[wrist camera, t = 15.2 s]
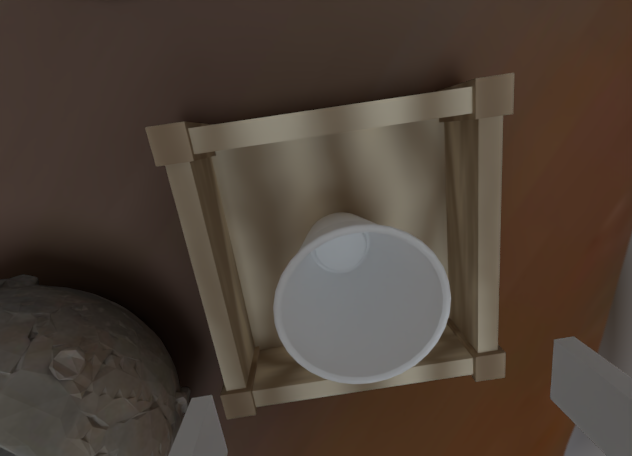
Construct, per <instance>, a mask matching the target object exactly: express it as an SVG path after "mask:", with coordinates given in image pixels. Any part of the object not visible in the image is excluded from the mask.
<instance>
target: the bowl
mask: <svg viewBox="0 0 632 456" xmlns="http://www.w3.org/2000/svg"><path fill="white" fill-rule="evenodd" d="M190 392H191V391H190V389H189V388H188V387H181V386H180V383H179V379H178V374H177V370H176V367H175V365H174V363H173V361H172V358H171V356H170V354H169V352H168V351H167V349H166V348H165V346H164V344H163V343H162V341H161V339H160V338H159V337H158V336H157V335H156V334H155V332H154V331H153V330H151V329H150V328H149V327H148V326H147V325H146V324H145V323H144V322H143V321H141V320H140V319H139V318H138V317H137V316H135V315H134V314H133V313H131V312H130V311H129V310H128V309H126V308H124V307H122V306H120V305H119V304H117V303H115V302H112V301H110V300H108V299H105V298H103V297H101V296H98V295H96V294H93V293H89V292H85V291H81V290H77V289H72V288H67V287H56V286H44V285H39V281H38V278H37V277H34V276H30V275H24V274H23V275H19V276H16V277H13V278H9V279H0V456H168V455H169V453H170V450H171V448H172V445H173V443H174V440H175V438H176V435H177V433H178V431H179V428H180V426H181V423H182V416H183V413H186V411H187V408H188V400H189V396H190Z"/></svg>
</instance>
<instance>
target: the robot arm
mask: <svg viewBox="0 0 632 456" xmlns="http://www.w3.org/2000/svg"><path fill="white" fill-rule="evenodd" d="M550 399H551V400H552V401H553V402H554V403H555V404H556V405H557V406H558V407H559V408H560V409H561V410H562V411H563V412H564V413H565V414H566V415H567V416H568V417H569V418H570V419H571V420H572V421H573V422H574V423H575V424H576V425H577V426H578V427H579V428H580V429H581V430H582V431H583V432H584V433H585V434H586V435H587V436H588V437H589V438H590V439H591V441H592V442H593V443H594V444H596V446H597V447H598V448H600V450H601V451H602V452H603V453H604V454H605V455H606V456H632V378H631V377H630V376H628V375H627V374H626V373H624V372H623V371H621V370H620V369H619V368H617V367H616V366H614V365H613V364H611V363H610V362H609V361H607V360H606V359H605V358H603V357H602V356H600V355H599V354H597V353H596V352H595V351H593V350H592V349H590V348H589V347H588V346H586V345H585V344H583V343H582V342H581V341H579V340H578V339H576V338H575V337H568V338H562V339H556V340H554V349H553V364H552V379H551V393H550ZM227 453H228V450H227V446H226V443H225V439H224V436H223V432H222V429H221V425H220V421H219V418H218V414H217V411H216V407H215V404H214V400H213V396H212V395H208V396H202V397H196V398H192V399H191V401H190V404H189V406H188V408H187V411H186V413H185V416H184V418H183V421H182V423H181V426H180V428H179V431H178V433H177V435H176V438H175V440H174V443H173V445H172V448H171V450H170V453H169V455H168V456H227Z"/></svg>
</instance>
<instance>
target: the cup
mask: <svg viewBox="0 0 632 456" xmlns="http://www.w3.org/2000/svg"><path fill="white" fill-rule="evenodd" d="M450 305H451V292H450V285H449V280H448V277H447V275H446V272H445V269H444V267H443V265H442V264H441V262H440V261H439V259H438V258H437V256H436V255H435V253H434V252H433V251H432V250H431V249H430V248H429V247H428V246H427V245H426V244H425V243H423V242H422V241H421V240H419V239H418V238H416V237H414V236H413V235H411V234H409V233H408V232H405V231H402V230H400V229H397V228H394V227H391V226H385V225H378V224H376V223H373V222H371V221H369V220H366V219H364V218H362V217H359V216H357V215H354V214H351V213H345V212H339V213H333V214H329V215H327V216H325V217H323V218H321V219H320V220H318V221H317V222H316V223H315V224H314V225H313V226H312V228H311V229H310V231H309V232H308V234H307V236H306V238H305V240H304V242H303V244H302V246H301V248H300V249H299V251H298V253H297V254H296V255H295V256H294V257H293V258H292V259H291V260H290V262H289V263H288V265H287V267H286V268H285V270H284V271H283V273H282V274H281V277H280V279H279V282H278V285H277V288H276V290H275V296H274V304H273V312H274V323H275V326H276V330H277V333H278V336H279V338H280V340H281V342H282V344H283V345H284V347H285V349H286V351H287V352H288V353H289V354H290V355H291V356H292V357H293V358H294V360H295V361H296V362H297V363H298V364H300V365H301V366H302V367H304V368H305V369H307V370H308V371H309V372H311V373H313V374H315V375H317V376H319V377H322V378H324V379H327V380H331V381H335V382H338V383H347V384H367V383H374V382H378V381H383V380H387V379H389V378H392V377H394V376H397V375H399V374H402V373H403V372H405V371H407V370H408V369H410V368H412V367H413V366H415V365H416V364H417V363H418V362H420V361H421V360H422V359H423V358H424V357H425V356H427V355H428V354H429V352H430V351H431V350H432V349H433V347H434V346H435V345H436V344H437V342H438V341H439V339H440V337H441V335H442V333H443V331H444V330H445V327H446V324H447V321H448V318H449V314H450Z"/></svg>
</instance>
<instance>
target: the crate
mask: <svg viewBox="0 0 632 456" xmlns="http://www.w3.org/2000/svg"><path fill="white" fill-rule="evenodd" d="M513 101H514V73H509V74H503V75H496V76H489V77H482V78H476V79H472V80H469V81H466V82H463V83H460V84H457V85H454V86H450V87H447V88H444V89H441V90H438V91H435V92H431V93H424V94H418V95H411V96H404V97H397V98H391V99H384V100H377V101H370V102H363V103H357V104H350V105H343V106H336V107H330V108H323V109H316V110H309V111H302V112H296V113H289V114H282V115H275V116H269V117H262V118H255V119H248V120H241V121H235V122H228V123H221V124H214V125H212V124H203V123H193V122H177V123H170V124H164V125H157V126H150V127H145V129H146V133H147V136H148V140H149V143H150V147H151V150H152V154H153V158H154V161H155V165H156V167H158V166H165V167H166V171H167V175H168V178H169V182H170V186H171V189H172V193H173V197H174V200H175V204H176V208H177V211H178V215H179V219H180V222H181V226H182V230H183V233H184V237H185V241H186V245H187V248H188V252H189V256H190V259H191V263H192V267H193V270H194V274H195V278H196V281H197V285H198V289H199V292H200V296H201V300H202V303H203V307H204V311H205V314H206V318H207V322H208V325H209V329H210V333H211V336H212V340H213V344H214V348H215V351H216V355H217V359H218V362H219V366H220V370H221V373H222V377H223V381H224V385H223V388H222V392H221V395H220V397H221V400H222V404H223V408H224V411H225V415H226V418H227V419H233V418H240V417H247V416H253V415H256V413H257V407H260V406H267V405H273V404H280V403H286V402H293V401H300V400H306V399H313V398H320V397H326V396H333V395H339V394H346V393H353V392H359V391H366V390H372V389H379V388H386V387H392V386H399V385H406V384H412V383H419V382H425V381H432V380H439V379H445V378H452V377H458V376H465V375H471V376H472V377H473V379H474V380H475V382H478V381H485V380H491V379H498V378H504V377H505V357H506V352H505V351H504V350H503V349H502V348H501V347H500V346H499V345H498V314H499V271H500V227H501V183H502V140H503V115H509V114H513ZM339 212H345V213H351V214H354V215H357V216H359V217H362V218H364V219H366V220H369V221H371V222H373V223H376V224H378V225H385V226H391V227H394V228H397V229H400V230H402V231H405V232H408V233H409V234H411V235H413V236H414V237H416V238H418V239H419V240H421V241H422V242H423V243H425V244H426V245H427V246H428V247H429V248H430V249H431V250H432V251H433V252H434V253H435V255H436V256H437V258H438V259H439V261H440V262H441V264H442V265H443V267H444V269H445V272H446V275H447V277H448V280H449V285H450V292H451V305H450V314H449V318H448V321H447V324H446V327H445V330H444V331H443V333H442V335H441V337H440V339H439V341H438V342H437V344H436V345H435V346H434V347H433V349H432V350H431V351H430V352H429V354H428V355H427V356H425V357H424V358H423V359H422V360H421V361H420V362H418V363H417V364H416V365H415V366H413V367H412V368H410V369H408V370H407V371H405V372H403V373H402V374H399V375H397V376H394V377H392V378H389V379H387V380H383V381H378V382H374V383H367V384H347V383H338V382H335V381H331V380H327V379H324V378H322V377H319V376H317V375H315V374H313V373H311V372H309V371H308V370H307V369H305V368H304V367H302V366H301V365H300V364H298V363H297V362H296V361H295V360H294V358H293V357H292V356H291V355H290V354H289V353H288V352H287V351H286V349H285V347H284V345H283V344H282V342H281V340H280V338H279V336H278V333H277V330H276V326H275V323H274V312H273V304H274V296H275V290H276V288H277V285H278V282H279V279H280V277H281V274H282V273H283V271H284V270H285V268H286V267H287V265H288V263H289V262H290V260H291V259H292V258H293V257H294V256H295V255H296V254H297V253H298V251H299V249H300V248H301V246H302V244H303V242H304V240H305V238H306V236H307V234H308V232H309V231H310V229H311V228H312V226H313V225H314V224H315V223H316V222H317V221H318V220H320V219H321V218H323V217H325V216H327V215H329V214H333V213H339Z"/></svg>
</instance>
